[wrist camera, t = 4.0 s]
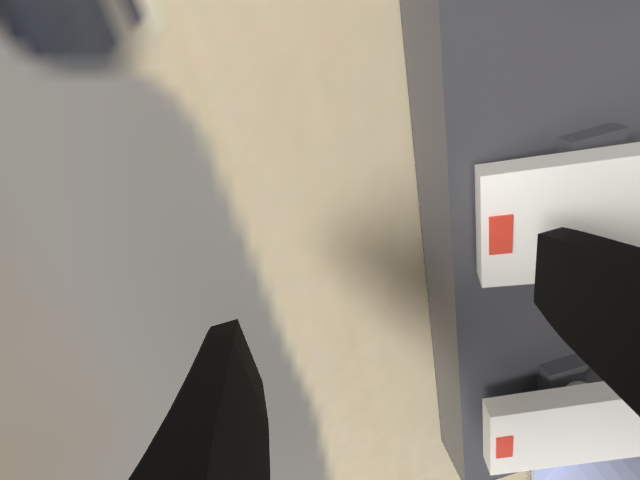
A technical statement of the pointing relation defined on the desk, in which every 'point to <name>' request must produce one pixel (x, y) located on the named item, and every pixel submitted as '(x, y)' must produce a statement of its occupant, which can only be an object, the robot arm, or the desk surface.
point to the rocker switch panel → (499, 145)
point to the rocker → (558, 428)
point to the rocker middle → (552, 206)
